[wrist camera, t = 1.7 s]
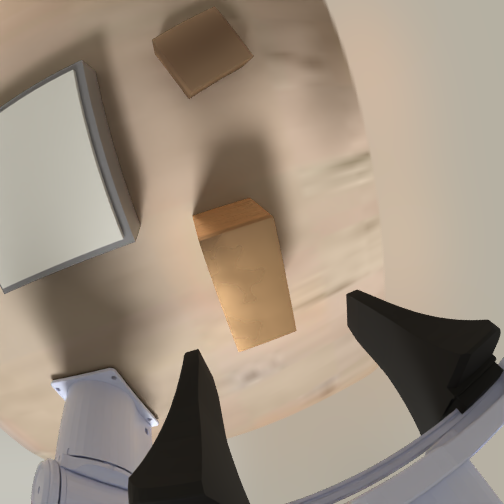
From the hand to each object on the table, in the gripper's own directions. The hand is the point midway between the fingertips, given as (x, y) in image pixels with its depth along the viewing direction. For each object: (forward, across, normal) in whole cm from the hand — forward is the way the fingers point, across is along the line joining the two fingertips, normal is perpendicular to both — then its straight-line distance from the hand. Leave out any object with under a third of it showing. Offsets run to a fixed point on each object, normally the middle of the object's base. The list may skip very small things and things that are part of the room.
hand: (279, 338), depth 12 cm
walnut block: (+9, -1, -14) cm, 17 cm away
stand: (+9, +11, -10) cm, 17 cm away
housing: (+9, 0, 0) cm, 9 cm away
